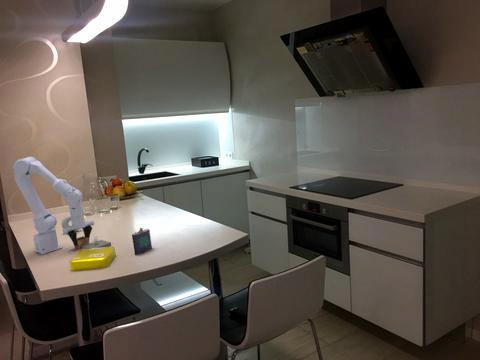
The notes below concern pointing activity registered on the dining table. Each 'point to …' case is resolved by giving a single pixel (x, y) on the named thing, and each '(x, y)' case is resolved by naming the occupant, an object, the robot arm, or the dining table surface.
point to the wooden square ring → (82, 242)
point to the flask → (141, 241)
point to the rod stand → (97, 244)
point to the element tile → (93, 258)
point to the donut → (66, 221)
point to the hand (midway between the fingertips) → (81, 243)
